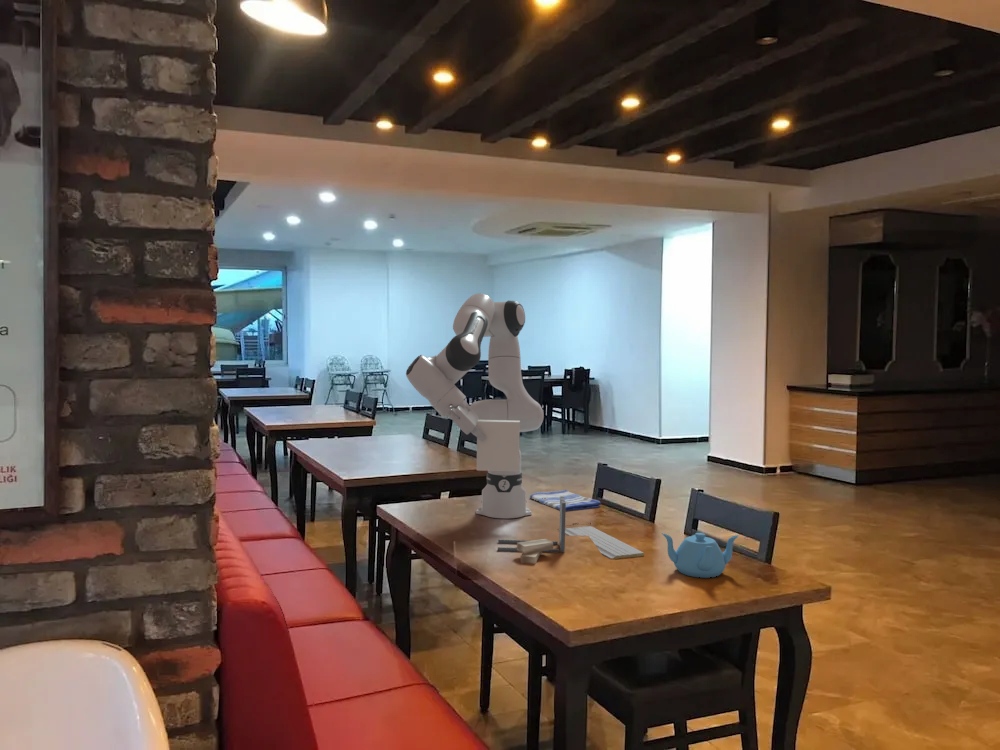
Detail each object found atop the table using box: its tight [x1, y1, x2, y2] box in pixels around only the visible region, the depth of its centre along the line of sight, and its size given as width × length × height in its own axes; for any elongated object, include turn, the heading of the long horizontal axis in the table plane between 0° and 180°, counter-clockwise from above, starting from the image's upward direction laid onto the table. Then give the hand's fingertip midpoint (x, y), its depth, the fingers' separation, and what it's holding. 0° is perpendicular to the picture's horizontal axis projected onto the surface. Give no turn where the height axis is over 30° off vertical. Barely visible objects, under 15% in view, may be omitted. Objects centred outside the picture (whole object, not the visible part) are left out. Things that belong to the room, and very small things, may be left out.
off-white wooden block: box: [475, 420, 521, 472], centre depth 220 cm, size 4×12×14 cm, turn 89°
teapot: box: [661, 532, 739, 579], centre depth 201 cm, size 15×15×10 cm
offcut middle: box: [520, 551, 543, 565], centre depth 207 cm, size 4×10×2 cm, turn 168°
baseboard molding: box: [557, 522, 645, 560], centre depth 228 cm, size 31×3×12 cm
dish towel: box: [529, 489, 602, 512], centre depth 281 cm, size 17×24×3 cm
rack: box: [497, 496, 567, 554], centre depth 217 cm, size 9×18×15 cm, turn 89°
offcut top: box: [516, 538, 554, 554], centre depth 209 cm, size 4×9×2 cm, turn 119°
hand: (484, 438), depth 220 cm, fingers closed on off-white wooden block, 4 cm apart
